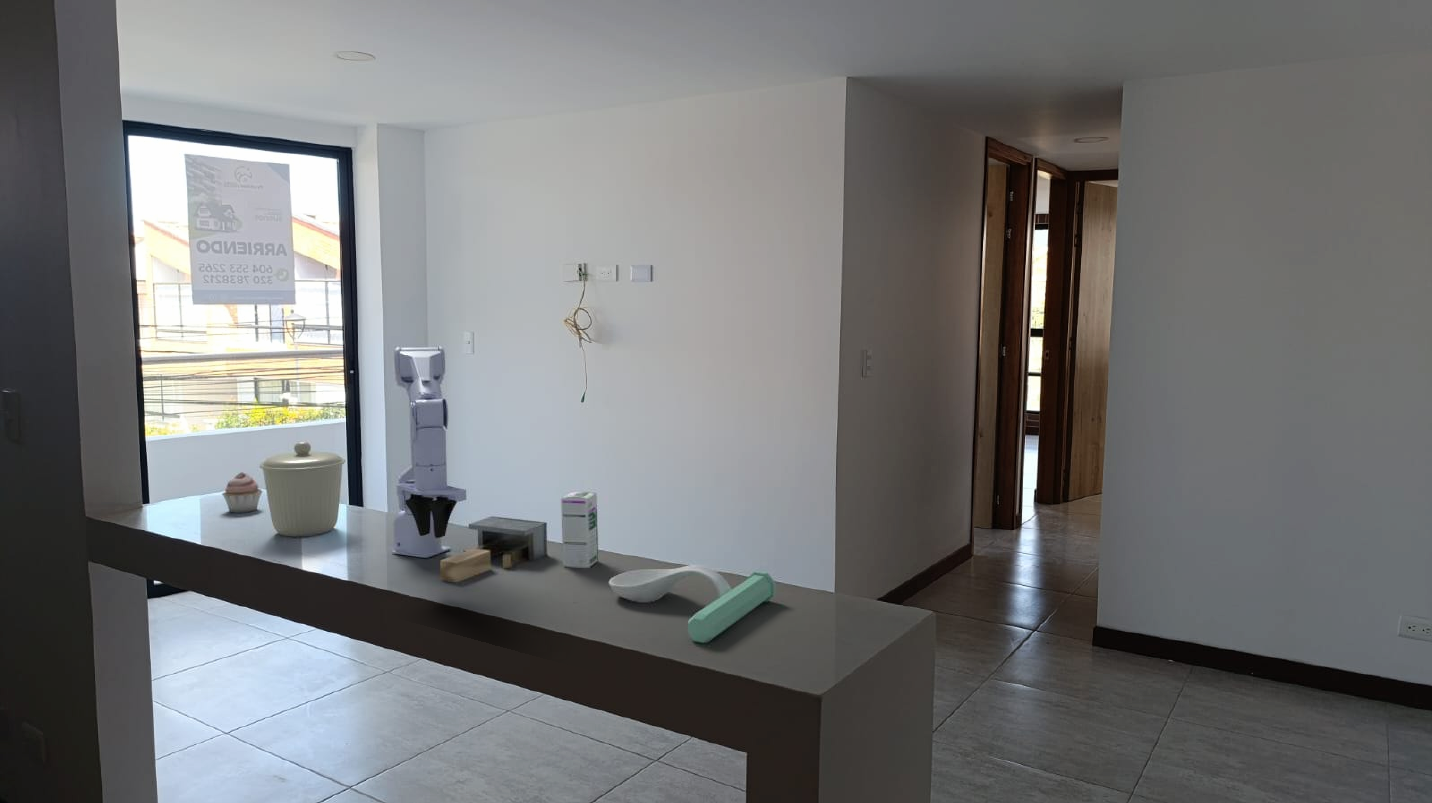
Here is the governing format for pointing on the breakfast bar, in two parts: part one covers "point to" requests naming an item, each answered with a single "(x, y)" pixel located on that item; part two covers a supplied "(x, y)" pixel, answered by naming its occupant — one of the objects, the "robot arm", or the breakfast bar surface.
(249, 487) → the cupcake
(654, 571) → the spoon rest
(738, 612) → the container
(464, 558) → the oak bar
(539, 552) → the awning
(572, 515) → the syrup box
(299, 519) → the canister
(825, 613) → the breakfast bar surface
